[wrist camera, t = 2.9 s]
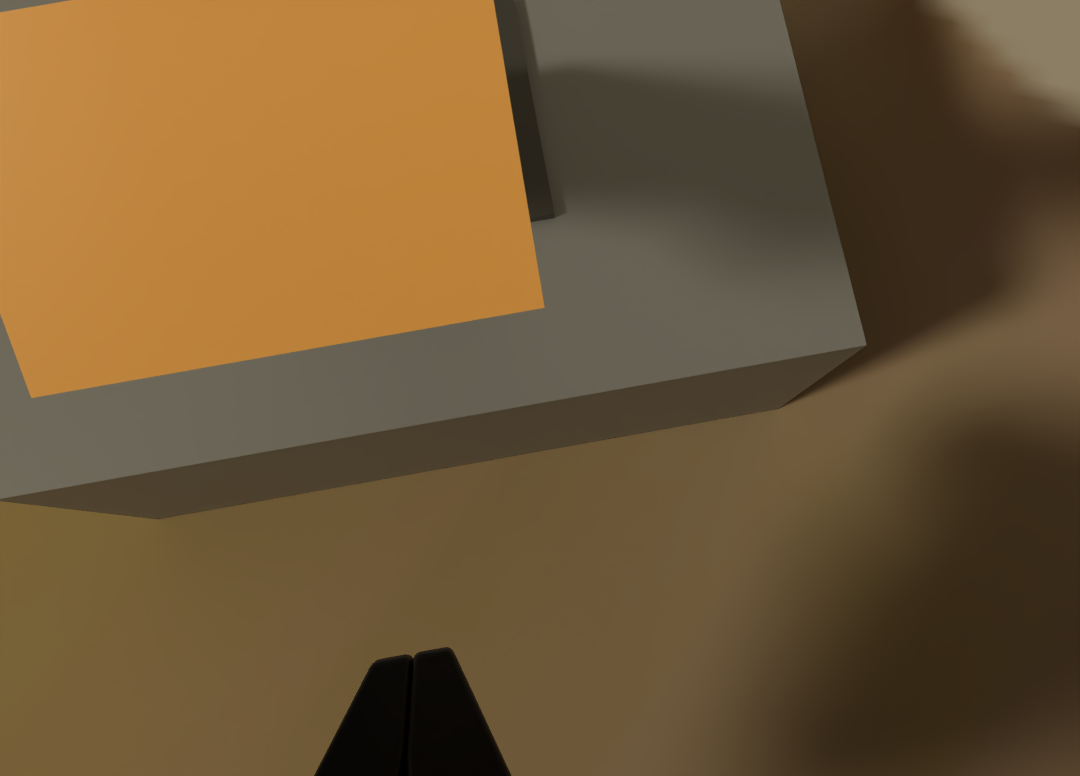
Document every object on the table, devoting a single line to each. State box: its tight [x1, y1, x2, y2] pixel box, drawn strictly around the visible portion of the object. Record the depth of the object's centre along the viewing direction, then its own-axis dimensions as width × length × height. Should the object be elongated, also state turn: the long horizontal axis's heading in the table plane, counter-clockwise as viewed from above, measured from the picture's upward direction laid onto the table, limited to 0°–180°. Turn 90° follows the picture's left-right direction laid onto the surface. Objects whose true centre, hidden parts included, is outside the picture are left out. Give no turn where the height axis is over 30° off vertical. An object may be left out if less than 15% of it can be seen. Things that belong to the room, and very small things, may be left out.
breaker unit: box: [0, 0, 867, 519], centre depth 18 cm, size 10×14×6 cm
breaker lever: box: [0, 0, 545, 398], centre depth 10 cm, size 2×4×8 cm
